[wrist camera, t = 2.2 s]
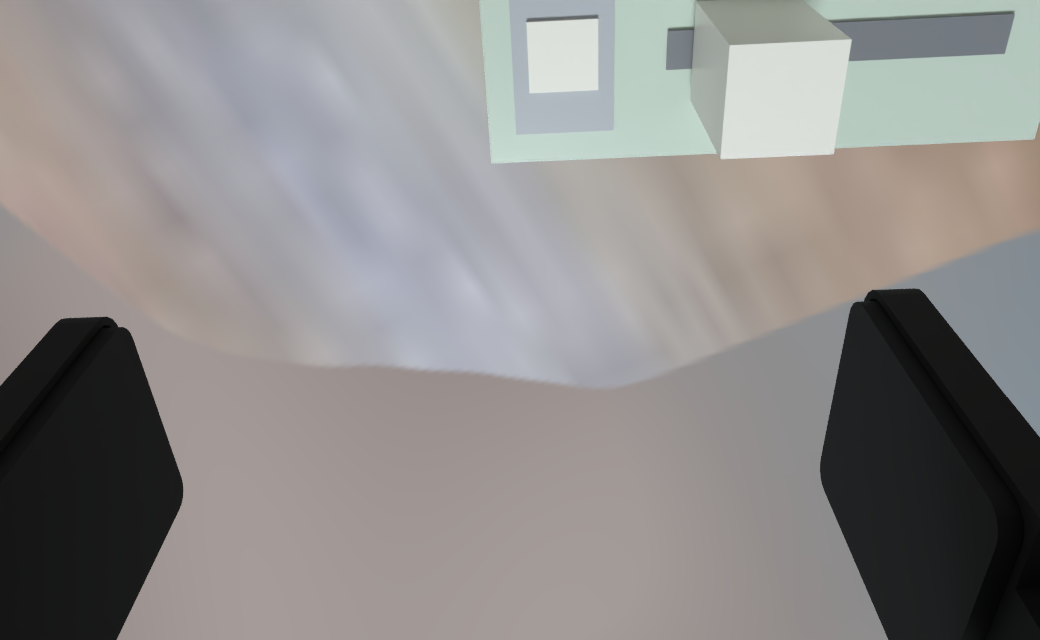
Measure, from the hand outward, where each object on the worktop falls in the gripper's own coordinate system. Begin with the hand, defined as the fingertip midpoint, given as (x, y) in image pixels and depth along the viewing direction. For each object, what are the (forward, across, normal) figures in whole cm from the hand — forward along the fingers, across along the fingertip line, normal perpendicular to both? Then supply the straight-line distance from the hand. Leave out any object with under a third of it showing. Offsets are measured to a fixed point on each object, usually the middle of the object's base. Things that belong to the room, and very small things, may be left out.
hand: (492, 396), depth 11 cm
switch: (+17, -7, 0) cm, 19 cm away
